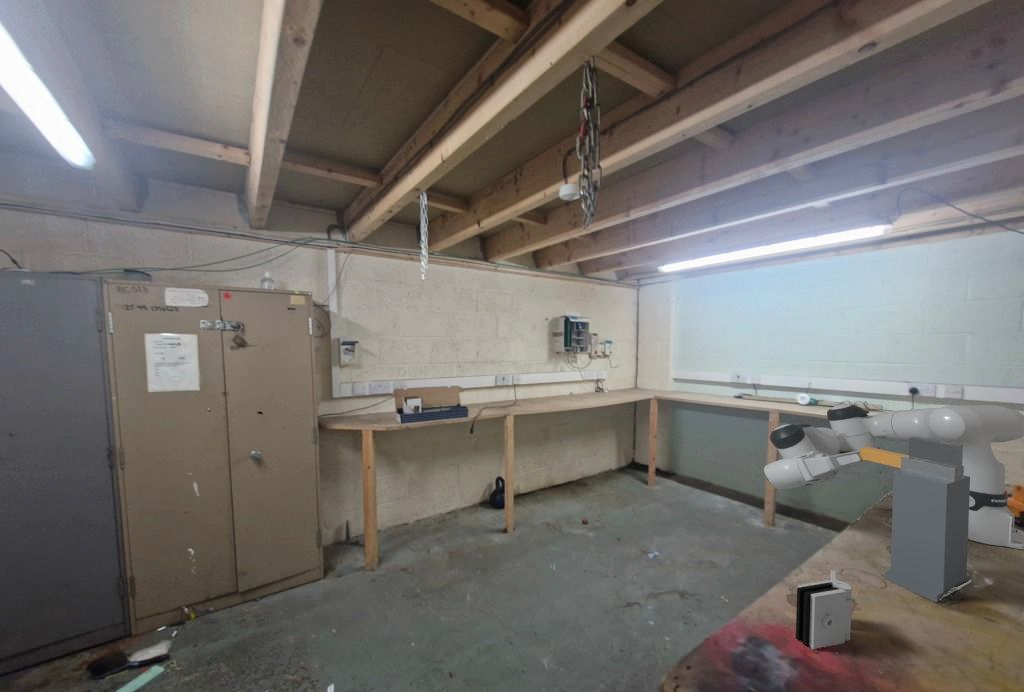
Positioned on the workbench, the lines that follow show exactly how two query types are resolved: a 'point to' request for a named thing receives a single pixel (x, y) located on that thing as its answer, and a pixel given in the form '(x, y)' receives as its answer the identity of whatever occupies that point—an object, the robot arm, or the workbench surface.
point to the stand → (929, 528)
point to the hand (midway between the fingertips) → (869, 454)
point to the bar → (921, 454)
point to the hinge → (823, 612)
